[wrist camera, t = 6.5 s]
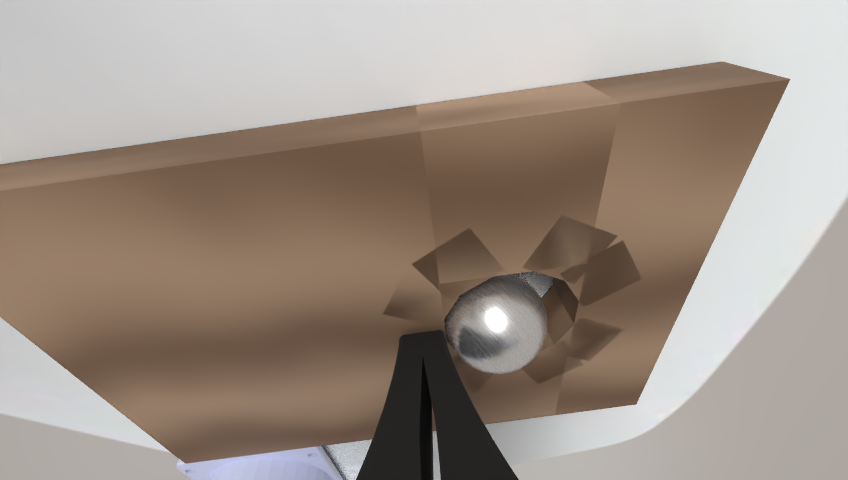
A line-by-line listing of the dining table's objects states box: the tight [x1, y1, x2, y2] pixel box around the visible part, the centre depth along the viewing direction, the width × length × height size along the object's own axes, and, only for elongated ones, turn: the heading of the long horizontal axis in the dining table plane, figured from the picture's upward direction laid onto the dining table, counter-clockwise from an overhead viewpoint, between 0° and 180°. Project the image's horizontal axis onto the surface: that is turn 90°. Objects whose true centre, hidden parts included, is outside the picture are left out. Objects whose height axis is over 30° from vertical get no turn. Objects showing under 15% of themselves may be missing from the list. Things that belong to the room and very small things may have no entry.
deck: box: [0, 62, 790, 464], centre depth 13 cm, size 14×21×2 cm, turn 97°
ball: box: [444, 274, 547, 374], centre depth 12 cm, size 4×4×4 cm
